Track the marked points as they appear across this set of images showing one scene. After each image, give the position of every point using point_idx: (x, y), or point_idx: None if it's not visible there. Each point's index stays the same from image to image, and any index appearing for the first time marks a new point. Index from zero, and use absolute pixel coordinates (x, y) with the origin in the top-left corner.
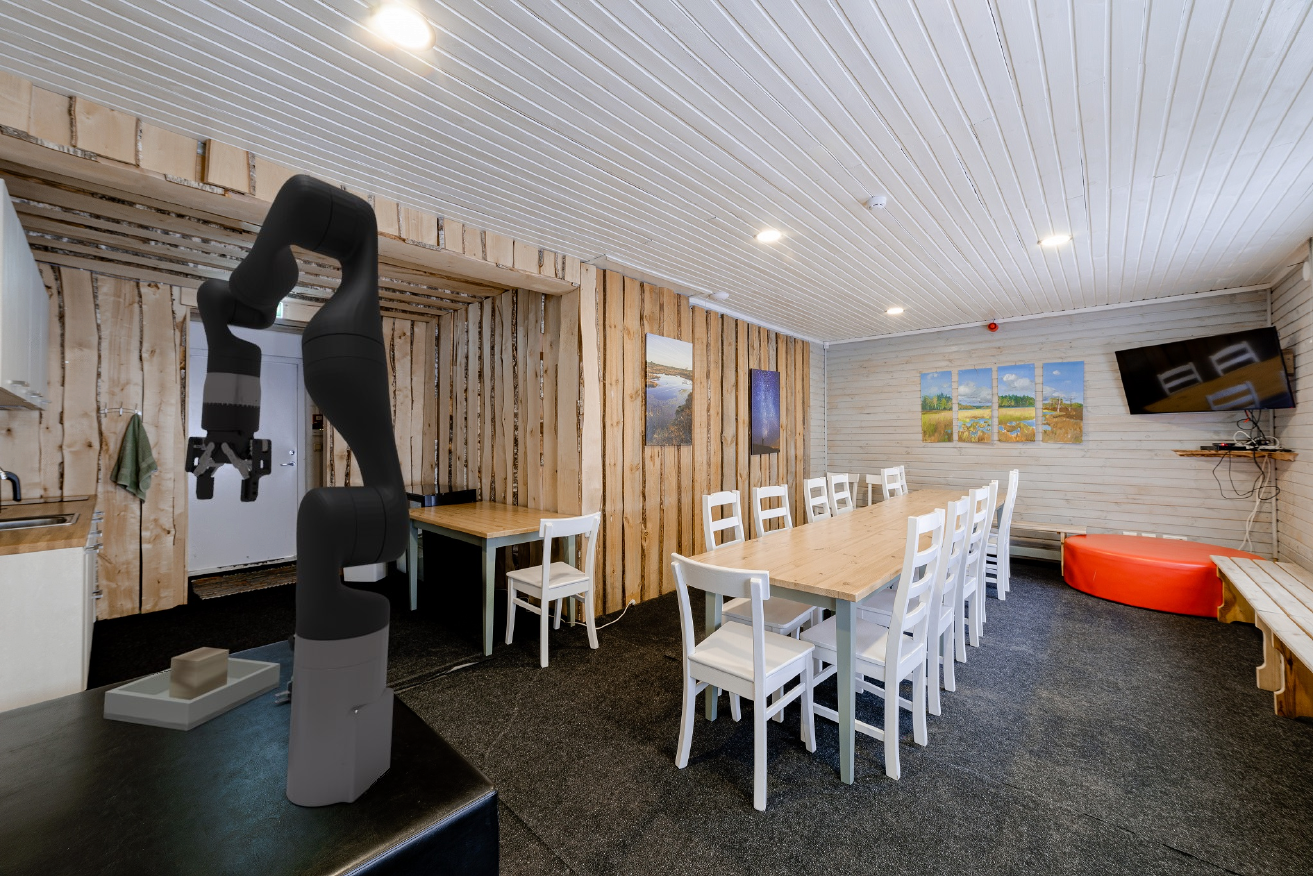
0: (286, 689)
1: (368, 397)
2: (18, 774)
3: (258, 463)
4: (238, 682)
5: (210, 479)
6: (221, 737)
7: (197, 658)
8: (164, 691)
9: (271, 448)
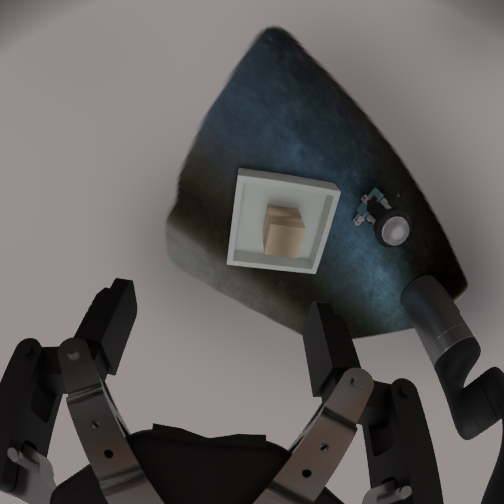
0: (359, 213)
1: None
2: (251, 306)
3: (391, 444)
4: (327, 235)
5: (107, 344)
6: (341, 265)
7: (291, 252)
8: (239, 216)
9: (439, 480)
